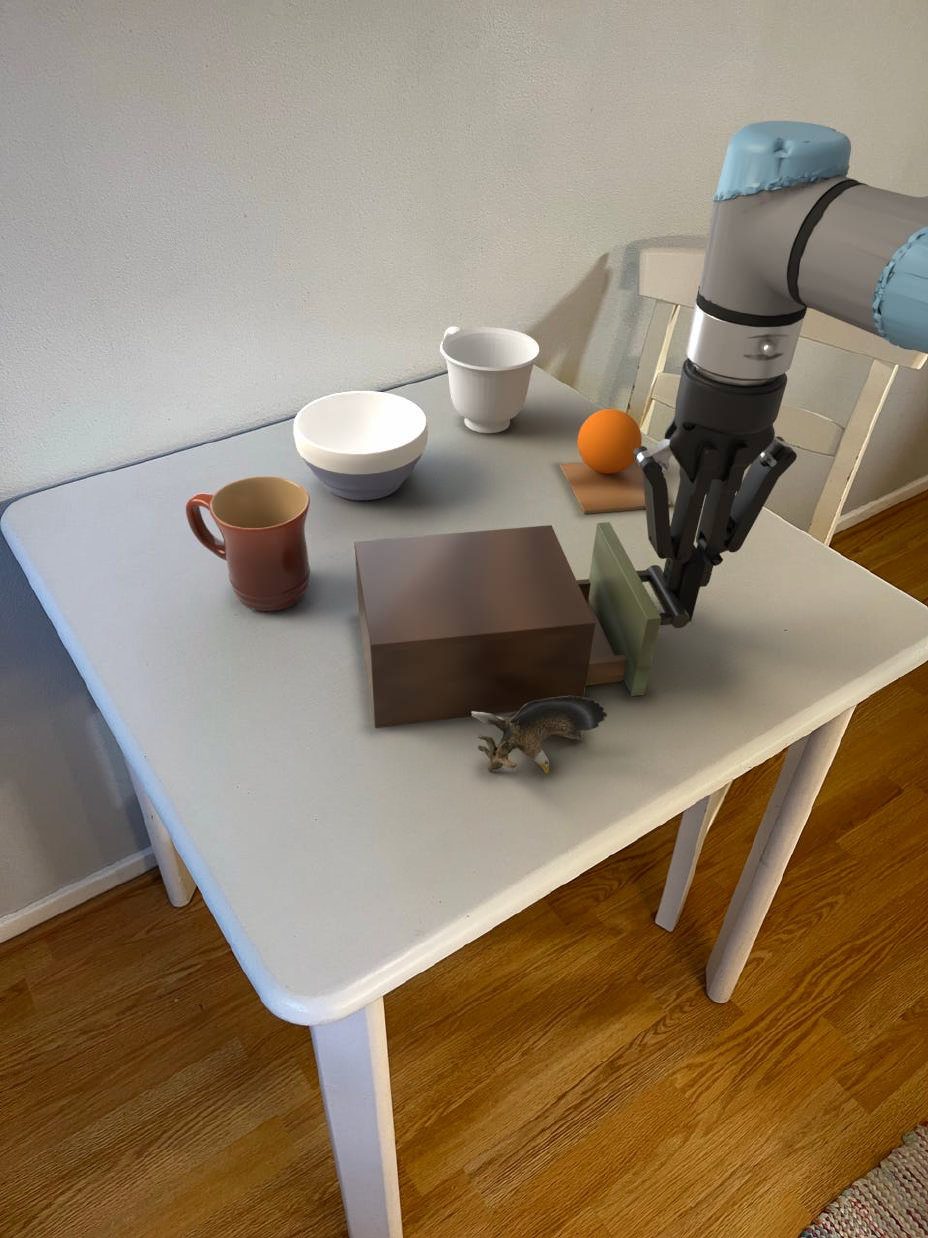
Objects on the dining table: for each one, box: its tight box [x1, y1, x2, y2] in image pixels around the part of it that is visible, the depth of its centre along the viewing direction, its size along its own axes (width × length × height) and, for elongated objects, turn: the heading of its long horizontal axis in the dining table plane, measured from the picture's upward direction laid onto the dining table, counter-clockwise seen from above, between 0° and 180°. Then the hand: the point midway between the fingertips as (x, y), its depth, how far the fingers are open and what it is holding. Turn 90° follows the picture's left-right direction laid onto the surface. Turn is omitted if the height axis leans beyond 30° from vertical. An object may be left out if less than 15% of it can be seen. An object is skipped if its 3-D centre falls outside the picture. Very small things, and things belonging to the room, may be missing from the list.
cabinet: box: [353, 524, 595, 728], centre depth 77 cm, size 18×14×9 cm
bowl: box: [293, 390, 429, 501], centre depth 99 cm, size 14×14×8 cm
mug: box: [185, 475, 311, 612], centre depth 83 cm, size 12×9×10 cm
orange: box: [577, 408, 643, 474], centre depth 102 cm, size 7×7×7 cm
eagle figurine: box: [471, 695, 608, 774], centre depth 70 cm, size 8×7×9 cm
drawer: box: [576, 521, 690, 697], centre depth 78 cm, size 22×14×9 cm, turn 100°
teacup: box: [439, 325, 542, 434], centre depth 111 cm, size 12×15×10 cm
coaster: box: [559, 460, 672, 515], centre depth 102 cm, size 10×10×1 cm
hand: (677, 612), depth 81 cm, fingers closed
